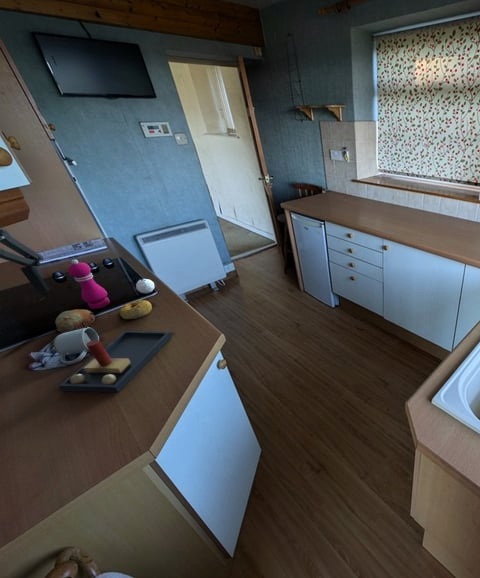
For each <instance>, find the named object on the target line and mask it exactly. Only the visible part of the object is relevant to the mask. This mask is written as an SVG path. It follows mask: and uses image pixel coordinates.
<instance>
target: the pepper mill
mask: <svg viewBox="0 0 480 578" xmlns="http://www.w3.org/2000/svg"><path fill="white" fill-rule="evenodd" d="M70 263H71V264H70V265H69V266H68V268H67V273H68V274H69V275H70V276H72V277H73V278H74V280H75V281H76V282H78V283H79V285H80V288H81V294H80V296H81V298H82V300H83V301H84V302H85V303H87V305H88V307H89V308H90V309H92V310H97V309H101V308H104V307H106V306H109V304H110V303H111V300H110V299H109V297H107V296H108V292H107V290H105V288H104V287H102V285H101V286H100V285H99V284H98V283H97V282H96V281H95V280H94V278H93V277H94V275H93V273H92V272H91V271H92V269H91V268H92V267H90V265H89V264H88V263H86V262H79V260H77V259H72V260H71V262H70Z"/></svg>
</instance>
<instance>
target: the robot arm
mask: <svg viewBox="0 0 480 578" xmlns="http://www.w3.org/2000/svg"><path fill="white" fill-rule="evenodd" d="M0 244H2V245H3V246H5V247H7V248H9V249H10V250H12V251H14V252H15V253H13V252H10V251H8V250H5V249H4V248H1V247H0V259H2V260H5V261H8V262H11V263H14V264H18V265H21V266H22V267H20V268H19V269H20V270H21V272H22V273H23V275H24V276H25V278H26V279H27V280H28V281H29V283H30V284H31V286H32V288H34V290H35V291H36V292H45V293H46V292H49V291H51V289H50V287H49V286H48V284H47V283H46V282H45V280H44V278H43V277H44V273H43V272H42V270H41V269H40V268H39V267H40V266H41V262H40V261H43V260H44V257H43V256H42V255H41V254H40V253H39V252H37V251H35V250H33V249H32V248H30V247H29V246H27V245H25V244H24V243H23V242H21V241H19V240H17V239H16V238H14V237H13V236H12V235H11V234H10V233H9V232H8V230H7V229H5V228H0Z"/></svg>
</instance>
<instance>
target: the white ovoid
mask: <svg viewBox="0 0 480 578" xmlns="http://www.w3.org/2000/svg"><path fill="white" fill-rule="evenodd" d="M137 279H138V281H137V282H136V284H135V287H136V290H137V291H138V292H139V293H141V294H149V293H152V292H153V291H154V289H155V287H156V286H155V283H154V281H152V280H151V279H147V278H140V277H137Z"/></svg>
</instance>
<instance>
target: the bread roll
mask: <svg viewBox="0 0 480 578" xmlns="http://www.w3.org/2000/svg"><path fill="white" fill-rule="evenodd" d="M95 320H96V316H95V314H94V313H93V312H92V311H90V310H88V309H77V308H76V309H72V310H65V311H62V312H61V313H60V314H59V315H58V316H56V319H55V321H54V323H55V326H56V329H57V332H59V333H61V334H63V333H66V332H71V331H75V330H79V329H83V328H86V327H87V328H88V327H90V326H92V325H93V323H94V322H95Z"/></svg>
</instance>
